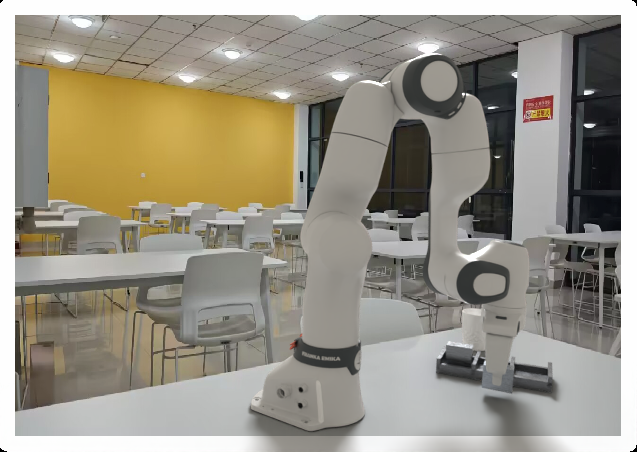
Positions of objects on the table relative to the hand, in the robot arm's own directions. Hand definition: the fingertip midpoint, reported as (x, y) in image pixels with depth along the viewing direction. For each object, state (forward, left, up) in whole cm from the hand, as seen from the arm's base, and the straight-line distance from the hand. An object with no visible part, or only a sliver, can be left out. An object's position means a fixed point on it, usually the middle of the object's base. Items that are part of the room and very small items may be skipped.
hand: (497, 380), depth 108 cm
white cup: (-8, +31, -4) cm, 33 cm away
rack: (-2, +12, -3) cm, 13 cm away
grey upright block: (0, 0, -2) cm, 2 cm away
